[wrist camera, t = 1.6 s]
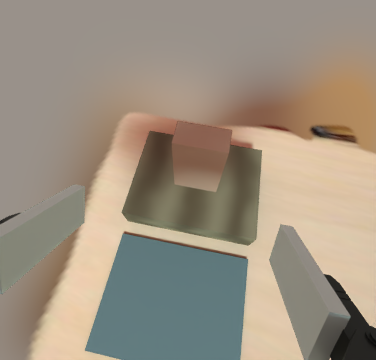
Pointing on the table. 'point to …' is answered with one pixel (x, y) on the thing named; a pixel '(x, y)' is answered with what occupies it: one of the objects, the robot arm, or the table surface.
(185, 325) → the mat
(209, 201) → the brown flat block
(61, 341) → the table surface
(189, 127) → the salmon pink brick
